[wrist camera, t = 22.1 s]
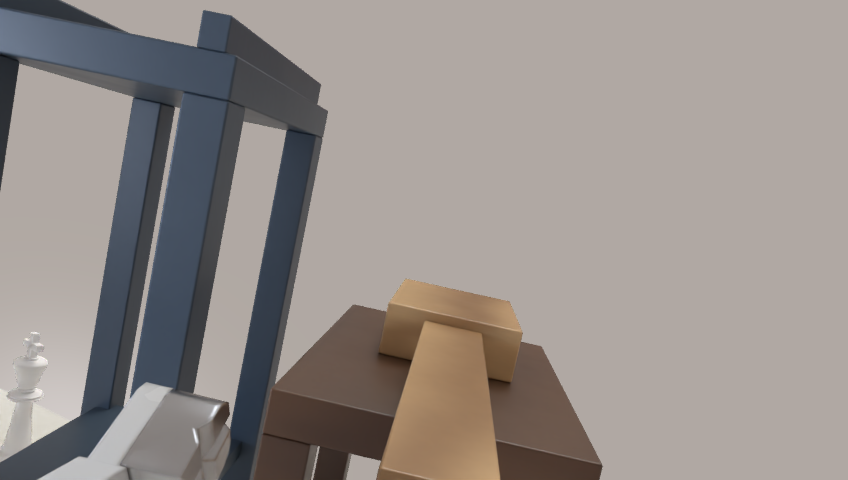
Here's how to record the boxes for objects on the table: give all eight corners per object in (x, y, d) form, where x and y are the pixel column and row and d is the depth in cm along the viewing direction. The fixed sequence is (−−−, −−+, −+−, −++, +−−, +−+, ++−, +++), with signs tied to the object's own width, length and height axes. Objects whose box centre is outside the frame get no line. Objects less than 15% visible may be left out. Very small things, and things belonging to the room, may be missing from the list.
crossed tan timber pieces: (278, 537, 12) (300, 428, 12) (396, 318, 32) (404, 278, 32) (567, 607, 11) (594, 497, 11) (500, 342, 32) (510, 301, 32)
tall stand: (-158, 755, 23) (-49, -42, 20) (72, 546, 36) (156, 52, 34) (98, 824, 22) (243, 17, 20) (235, 586, 36) (332, 88, 33)
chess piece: (31, 449, 45) (52, 319, 44) (69, 476, 43) (92, 339, 42) (-46, 469, 41) (-25, 325, 40) (-9, 500, 39) (15, 349, 38)
